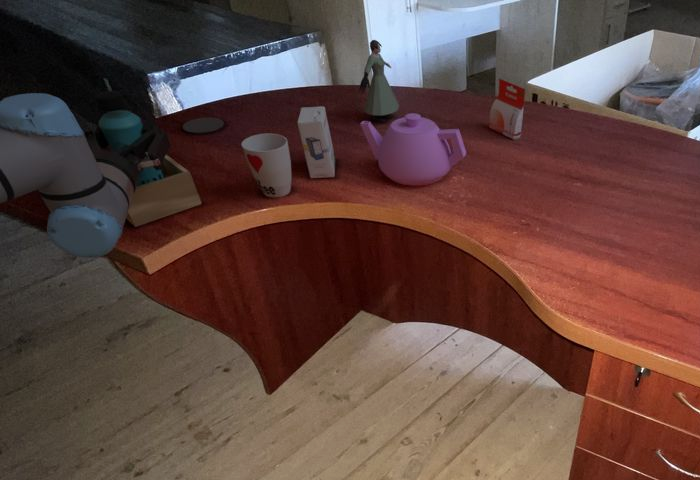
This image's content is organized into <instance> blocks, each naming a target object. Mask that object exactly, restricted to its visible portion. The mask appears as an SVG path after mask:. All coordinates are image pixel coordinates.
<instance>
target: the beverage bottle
mask: <svg viewBox="0 0 700 480" xmlns="http://www.w3.org/2000/svg"><path fill="white" fill-rule="evenodd" d="M94 97H95V101H96V103H97V107H98V109H99V110H100V111H103V112H106V113H104V114H103V115H102V116H101V117H100V119H99V121H98V125H99V126H100V128H101V130H102V132H103V134H104V136H105V138H106V141H107V143H108V147H109V151H110V152H114V151H115V150H119V149H120V148H122V147H123V146H124V145H131V144H132V143H133V142H134V141H136V140H137V139H138V138H139V137H141V136H142V135H143V134H144V133H143V130H142V129H143V127H144V124H143V123H142V120H141V118H140V116H138V115H137V114H135V113H133V112H131V111H128V110H123V109H125V108H127V107H128V103H127V100H125V97H124V95H123V93H121V91H117V90H108V91H107V90H106V91H101V92H99V93H97V94H96V95H95V96H94ZM163 175H164V174H163V171H161V170H155V168H154V167H144V170H143V171H142V172H141V173H139V175H138V184H137V186H140V185H144V184H147V183H150V182H153V181H157V180H160V179H163V178H165V176H163Z"/></svg>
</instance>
